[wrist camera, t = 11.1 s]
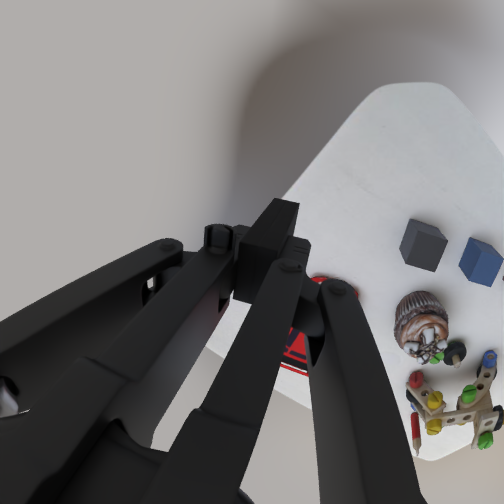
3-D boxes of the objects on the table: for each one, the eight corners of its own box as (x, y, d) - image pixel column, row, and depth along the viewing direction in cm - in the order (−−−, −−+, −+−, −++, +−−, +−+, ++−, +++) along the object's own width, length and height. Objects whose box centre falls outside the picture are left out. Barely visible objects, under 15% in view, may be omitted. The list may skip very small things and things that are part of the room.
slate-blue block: (458, 265, 37) (468, 280, 33) (469, 237, 35) (481, 250, 31) (479, 271, 36) (490, 287, 32) (491, 245, 34) (504, 258, 30)
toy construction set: (451, 416, 51) (459, 482, 33) (378, 413, 56) (374, 489, 38) (508, 341, 39) (539, 416, 21) (427, 332, 44) (449, 426, 26)
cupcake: (451, 301, 40) (468, 339, 31) (417, 338, 45) (425, 379, 36) (414, 276, 40) (429, 314, 32) (379, 318, 45) (384, 359, 37)
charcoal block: (398, 248, 39) (405, 263, 35) (409, 218, 37) (417, 230, 33) (426, 256, 39) (434, 272, 34) (437, 227, 36) (448, 240, 32)
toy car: (364, 288, 44) (365, 306, 39) (319, 366, 53) (316, 384, 49) (303, 266, 45) (299, 283, 41) (270, 349, 55) (263, 367, 51)
